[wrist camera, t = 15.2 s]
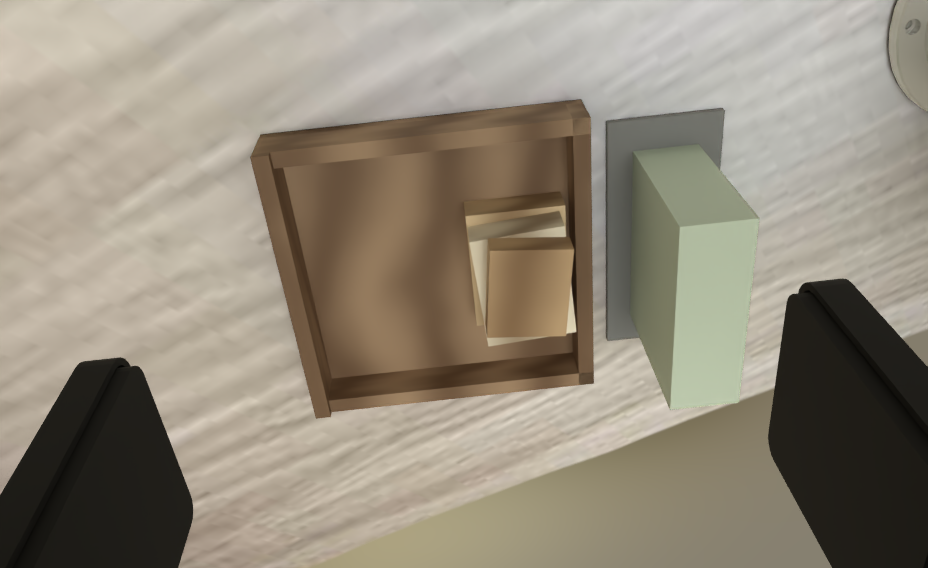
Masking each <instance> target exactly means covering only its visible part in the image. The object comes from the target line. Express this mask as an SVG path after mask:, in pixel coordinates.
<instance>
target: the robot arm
mask: <svg viewBox="0 0 928 568" xmlns="http://www.w3.org/2000/svg"><path fill="white" fill-rule="evenodd" d="M907 23H908V24H907ZM906 24H907V25H906ZM889 55H890V61H891V67H892V71H893V73H894V75H895V78H896V80H897V83H898V85H899V86H900V88H901V89H902V90H903V92H904V93H905V94H906V96H907V97H908V98H909V99H910V100H911V101H913V102H914V103H915V104H916V105H918V106H919V107H920V108H922V109H923V110H925V111H927V112H928V0H898V1H897V3H896V6H895V8H894V13H893V17H892V21H891V26H890V31H889ZM768 440H769V447H770V451H771V455H772V457H773V460H774V462H775V463H776V465H777V467H778V469H779V471H780V473H781V474H782V476H783V478H784V480H785V482H786V484H787V486H788V487H789V489H790V491H791V493H792V495H793V497H794V498H795V500H796V502H797V504H798V506H799V508H800V509H801V511H802V513H803V515H804V517H805V519H806V520H807V522H808V524H809V526H810V528H811V530H812V532H813V533H814V535H815V537H816V539H817V541H818V543H819V544H820V546H821V548H822V550H823V551H824V554H825V555H826V557H827V559H828V561H829V563H830V565H831V566H832V568H928V366H926V365H925V364H924V363H923V361H921V359H920V358H919V357H918V356H917V355H916V354H915V353H914V351H913V350H912V349H911V348H909V346H908V345H907V344H906V343H905V341H904V340H903V339H902V338H901V337H900V336H899V335H898V334H897V333H896V331H895V330H894V329H893V328H892V327H891V326H890V325H889V324H888V323H887V321H886V320H885V319H884V318H883V317H882V316H881V315H880V314H879V313H878V312H877V310H876V309H875V308H874V307H873V306H872V305H871V304H870V303H869V302H868V300H867V299H866V298H865V297H864V296H863V295H862V294H861V293H860V292H859V290H858V289H857V288H856V287H855V286H854V285H853V284H852V283H851V282H850V281H849V280H847V279H834V280H825V281H816V282H807V283H804V284H803V285H802V286H801V287H800V289H799V293H798V294H792V295H790V296H789V298H788V301H787V305H786V312H785V319H784V327H783V334H782V341H781V348H780V355H779V362H778V369H777V376H776V383H775V390H774V398H773V405H772V412H771V420H770V426H769V434H768ZM192 519H193V503H192V498H191V495H190V492H189V490H188V487H187V485H186V482H185V479H184V477H183V474H182V472H181V469H180V466H179V464H178V461H177V459H176V456H175V453H174V451H173V448H172V446H171V443H170V440H169V438H168V435H167V433H166V430H165V428H164V425H163V422H162V420H161V417H160V415H159V412H158V409H157V407H156V404H155V402H154V399H153V396H152V394H151V391H150V389H149V386H148V383H147V381H146V378H145V376H144V373H143V371H142V370H141V369H140V367H138V366H130V365H129V363H128V362H127V361H126V360H125V359H124V358H111V359H102V360H93V361H84V362H81V363H79V364H78V365H77V367H76V368H75V369H74V371H73V373H72V375H71V376H70V378H69V380H68V381H67V383H66V385H65V386H64V388H63V390H62V392H61V393H60V395H59V397H58V398H57V400H56V402H55V403H54V405H53V407H52V408H51V410H50V412H49V414H48V415H47V417H46V419H45V420H44V422H43V424H42V425H41V427H40V429H39V430H38V432H37V434H36V436H35V437H34V439H33V441H32V442H31V444H30V446H29V447H28V449H27V451H26V453H25V454H24V456H23V458H22V459H21V461H20V463H19V464H18V466H17V468H16V469H15V471H14V473H13V475H12V476H11V478H10V480H9V481H8V483H7V485H6V486H5V488H4V490H3V492H2V493H1V495H0V568H178V566H179V563H180V560H181V556H182V553H183V550H184V547H185V543H186V540H187V537H188V533H189V530H190V527H191V523H192Z"/></svg>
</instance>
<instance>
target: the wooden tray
mask: <svg viewBox="0 0 928 568" xmlns="http://www.w3.org/2000/svg"><path fill="white" fill-rule="evenodd" d="M250 158H251V162H252V166H253V170H254V174H255V178H256V182H257V186H258V190H259V194H260V198H261V202H262V206H263V210H264V214H265V218H266V222H267V226H268V230H269V234H270V238H271V242H272V246H273V250H274V254H275V258H276V262H277V265H278V269H279V273H280V277H281V281H282V285H283V289H284V293H285V297H286V301H287V305H288V309H289V313H290V317H291V321H292V325H293V329H294V333H295V337H296V341H297V345H298V349H299V353H300V357H301V361H302V365H303V369H304V373H305V377H306V381H307V385H308V389H309V393H310V396H311V400H312V404H313V408H314V412H315V416H316V418H325V417H331V412H336V411H345V410H354V409H363V408H373V407H382V406H391V405H400V404H409V403H418V402H428V401H437V400H446V399H455V398H464V397H473V396H483V395H492V394H501V393H510V392H519V391H529V390H538V389H547V388H556V387H565V386H574V385H584V384H593V383H594V371H593V285H592V199H591V117H590V115H589V113H588V111H587V110H586V108H585V106H584V104H583V102H582V101H581V100H572V101H563V102H553V103H544V104H535V105H526V106H517V107H508V108H499V109H490V110H481V111H472V112H463V113H453V114H444V115H435V116H426V117H417V118H408V119H399V120H390V121H381V122H372V123H362V124H353V125H344V126H335V127H326V128H317V129H308V130H299V131H290V132H281V133H272V134H262V135H260V137H259V139H258V142H257V144H256V146H255V148H254V151H253V153H252V155H251V157H250ZM558 191H560V192H561V195H562V198H563V200H564V203H565V211H566V237H570V239H571V242H572V245H573V248H574V256H573V267H572V278H571V287H572V296H573V305H574V314H575V323H576V332H573V333H567V334H566V336H549V337H543V338H537V339H531V340H525V341H519V342H513V343H507V344H501V345H495V346H488V341H487V335H486V330H485V325H481V326H477V322H476V314H475V305H474V295H473V286H472V276H471V267H470V257H469V247H468V238H467V228H466V219H465V209H464V202H467V201H476V200H485V199H494V198H503V197H512V196H521V195H531V194H540V193H549V192H558Z"/></svg>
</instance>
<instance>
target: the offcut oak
mask: <svg viewBox="0 0 928 568" xmlns="http://www.w3.org/2000/svg"><path fill="white" fill-rule="evenodd" d="M464 209H465V219H466V228H467V227H468V226H474V225H480V224H486V223H491V222H497V221H503V220H509V219H514V218H520V217H526V216H532V215H538V214H543V213H549V212H555V211H560V214H561V217H562V220H563V223H564V225H565V233H566V211H565V203H564V200H563V198H562V195H561V192H560V191H558V192H549V193H540V194H531V195H521V196H512V197H503V198H494V199H485V200H476V201H467V202H464ZM467 238H468V247H469V257H470V267H471V276H472V286H473V295H474V305H475V314H476V322H477V326H481V325H484V319H483V314H482V308H481V303H480V298H479V292H478V287H477V281H476V276H475V271H474V265H473V260H472V254H471V249H470V243H469V236H468V228H467Z"/></svg>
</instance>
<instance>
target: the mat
mask: <svg viewBox="0 0 928 568" xmlns="http://www.w3.org/2000/svg"><path fill="white" fill-rule="evenodd" d="M724 113H725V110H724V109H723V108H720V109H711V110H702V111H692V112H683V113H674V114H665V115H656V116H647V117H638V118H629V119H620V120H611V121H606V338H607V341H613V340H622V339H631V338H640V337H639V334H638V332H637V330H636V327H635V325H634V323H633V320H632V318H631V315H630V296H631V239H632V182H633V151H641V150H650V149H659V148H668V147H677V146H686V145H695V144H699V145H700V147H701V148H702V149H703V150H704V151H705V153H706V154H707V155H708V156H709V157H710V159H711V160H712V161H713V162H714V164H715V165H716V166H717V167H718V168H719V170H720V163H721V151H722V138H723V126H724Z"/></svg>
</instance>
